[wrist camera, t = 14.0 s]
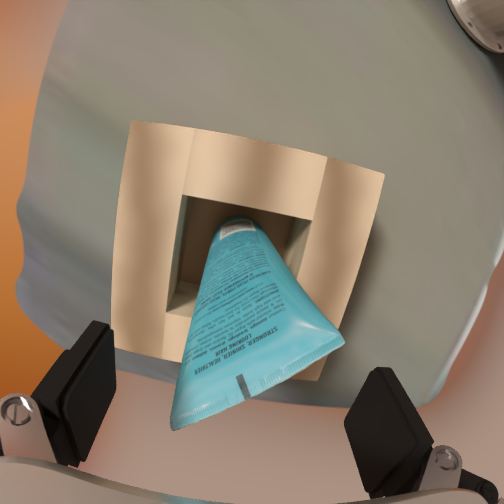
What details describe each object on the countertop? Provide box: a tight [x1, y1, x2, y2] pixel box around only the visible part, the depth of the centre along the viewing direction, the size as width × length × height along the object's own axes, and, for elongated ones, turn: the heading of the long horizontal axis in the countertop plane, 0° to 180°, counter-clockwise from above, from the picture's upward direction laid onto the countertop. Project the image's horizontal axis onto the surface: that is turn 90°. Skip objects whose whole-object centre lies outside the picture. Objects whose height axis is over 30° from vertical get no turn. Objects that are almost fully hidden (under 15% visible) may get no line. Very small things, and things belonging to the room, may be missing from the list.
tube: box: [170, 216, 345, 431], centre depth 19 cm, size 7×5×19 cm, turn 129°
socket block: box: [111, 120, 385, 381], centre depth 26 cm, size 18×18×8 cm
